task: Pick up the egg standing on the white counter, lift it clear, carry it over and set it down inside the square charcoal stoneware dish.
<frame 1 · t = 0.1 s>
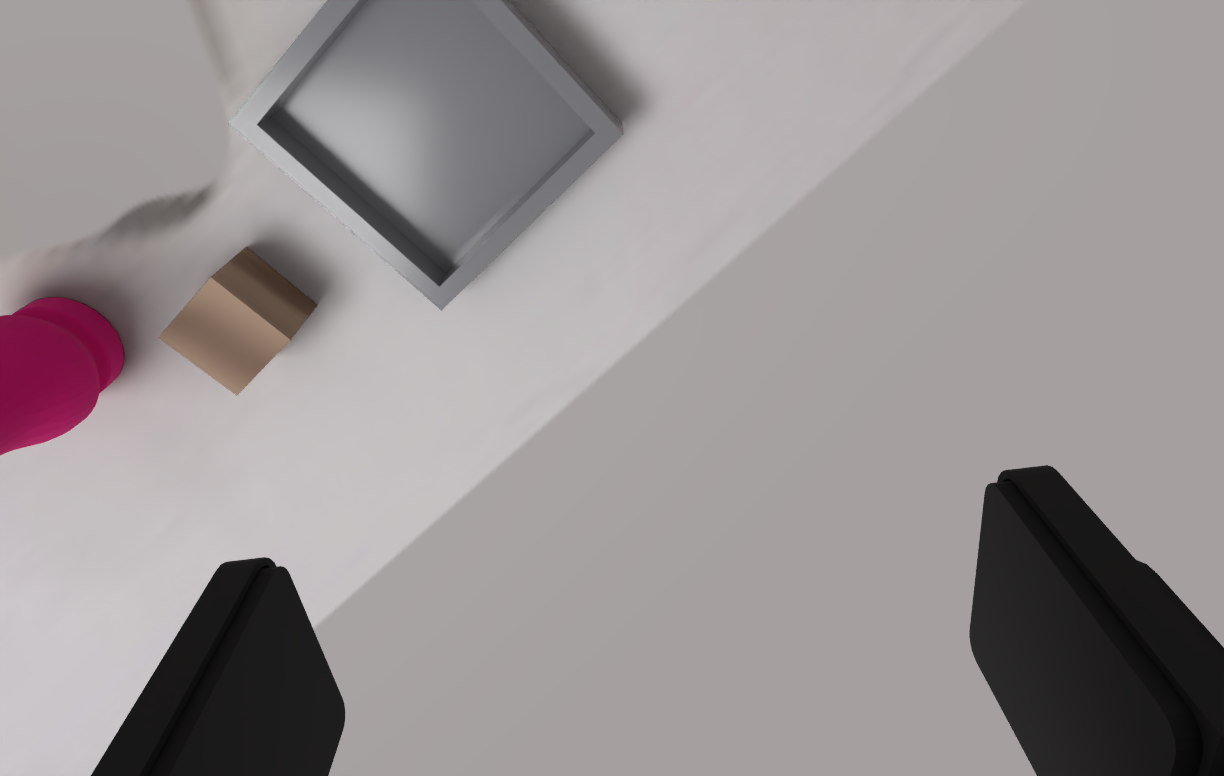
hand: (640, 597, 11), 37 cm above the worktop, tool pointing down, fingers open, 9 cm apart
pepper mill: (73, 342, 49), on the worktop
dish: (436, 118, 43), on the worktop
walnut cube: (258, 303, 48), on the worktop
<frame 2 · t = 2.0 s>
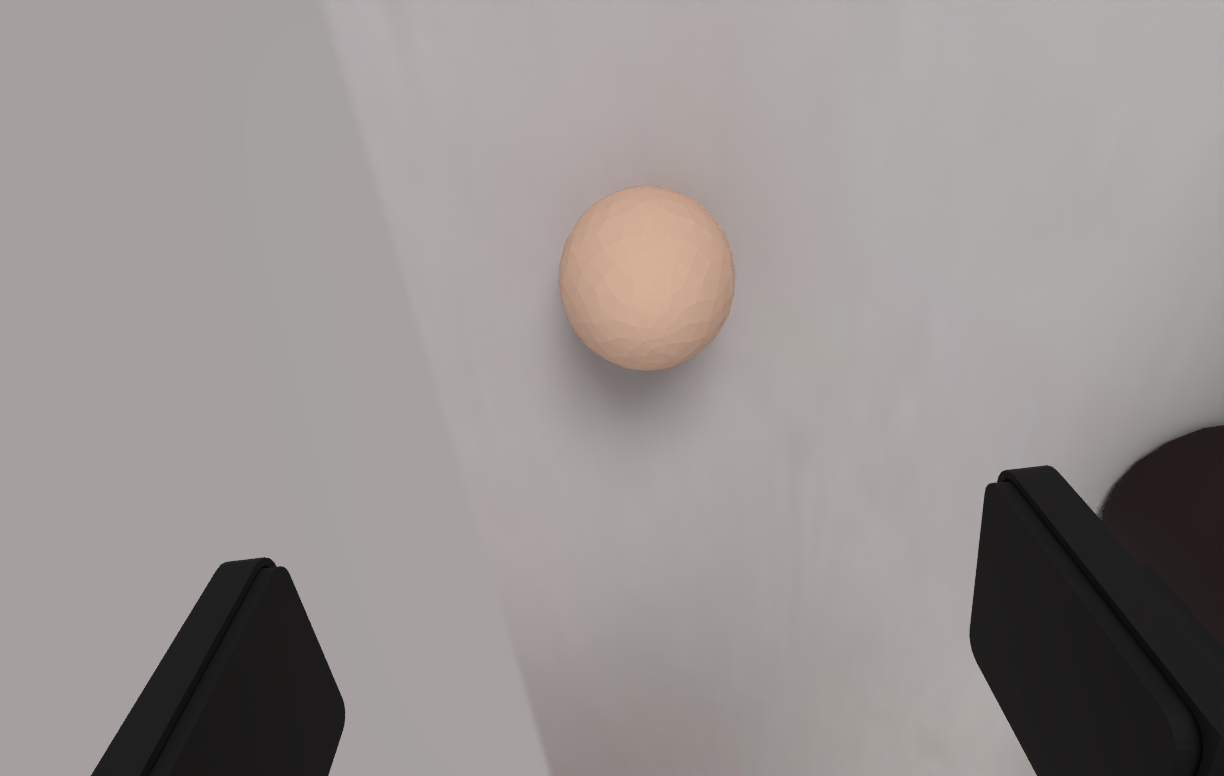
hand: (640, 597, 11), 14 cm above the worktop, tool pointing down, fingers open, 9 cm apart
egg: (642, 241, 23), on the worktop
bottle: (1195, 499, 27), on the worktop
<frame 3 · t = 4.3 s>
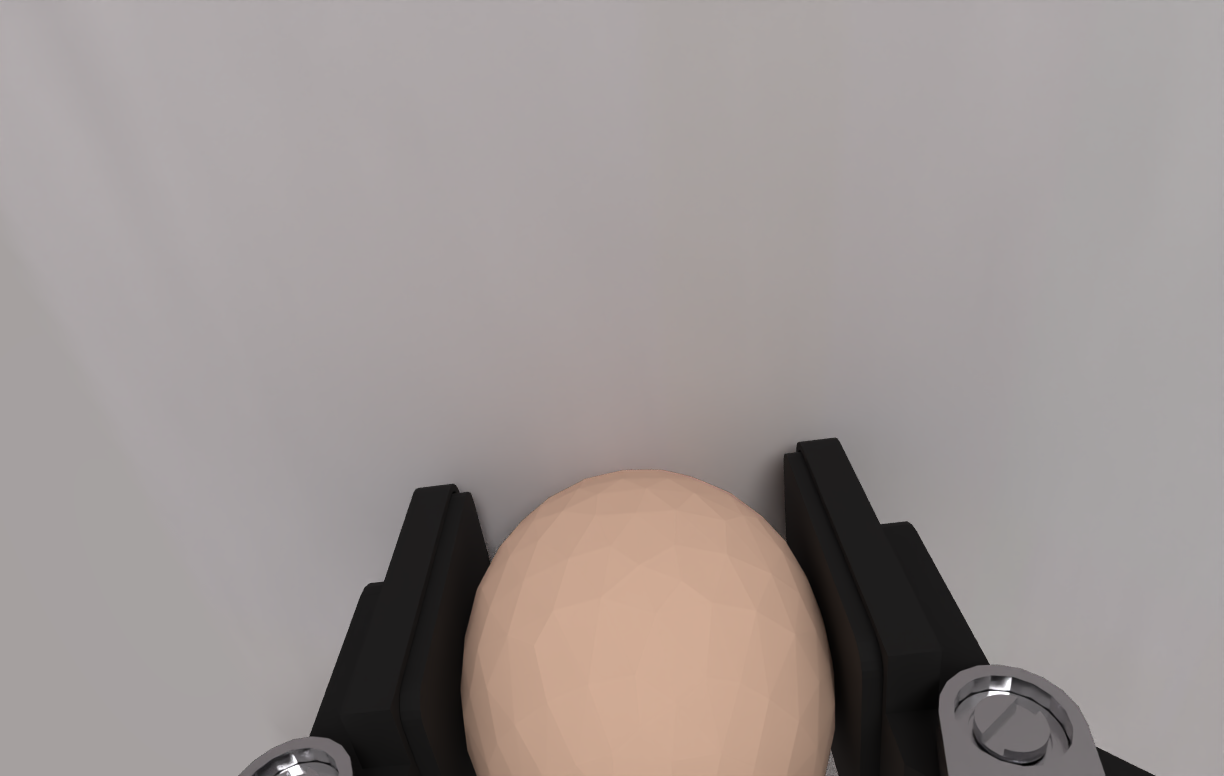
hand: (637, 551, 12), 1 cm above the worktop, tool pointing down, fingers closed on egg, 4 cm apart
egg: (635, 517, 12), on the worktop, touching gripper
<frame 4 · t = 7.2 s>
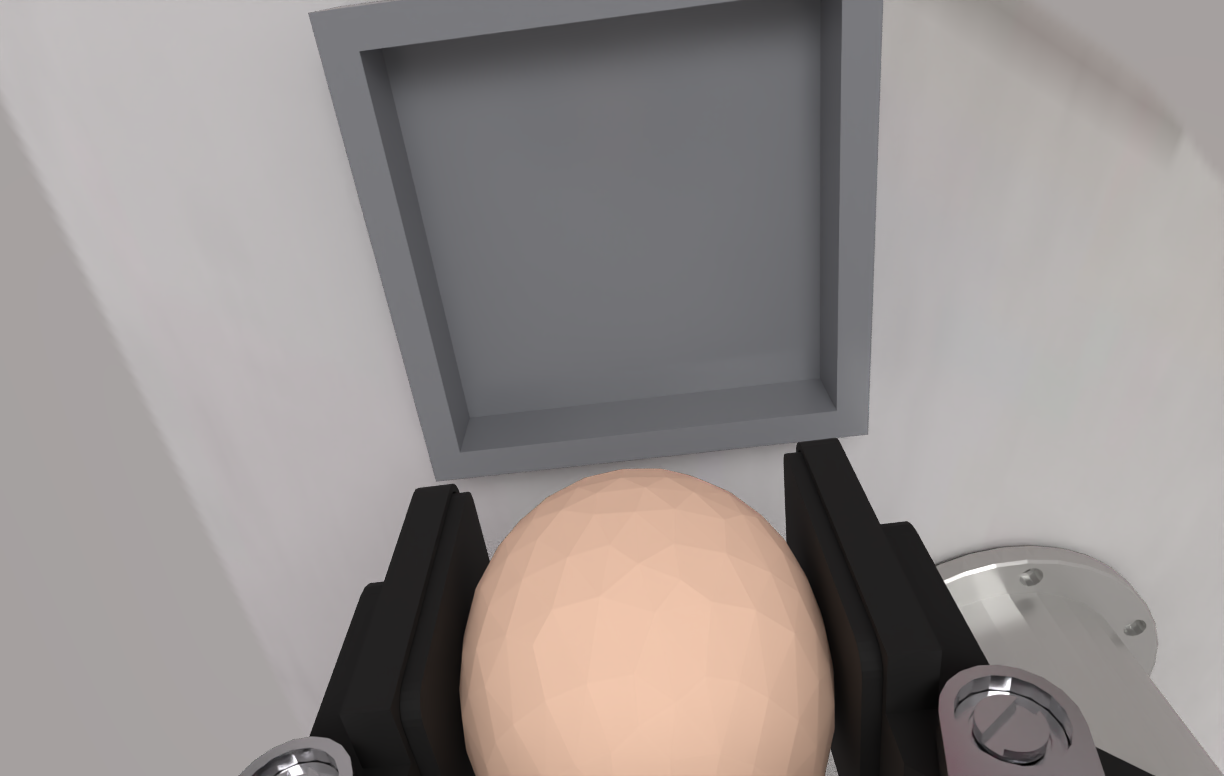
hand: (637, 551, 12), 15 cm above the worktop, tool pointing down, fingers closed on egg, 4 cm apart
dish: (622, 222, 25), on the worktop
egg: (634, 516, 12), point 15 cm above the worktop, touching gripper
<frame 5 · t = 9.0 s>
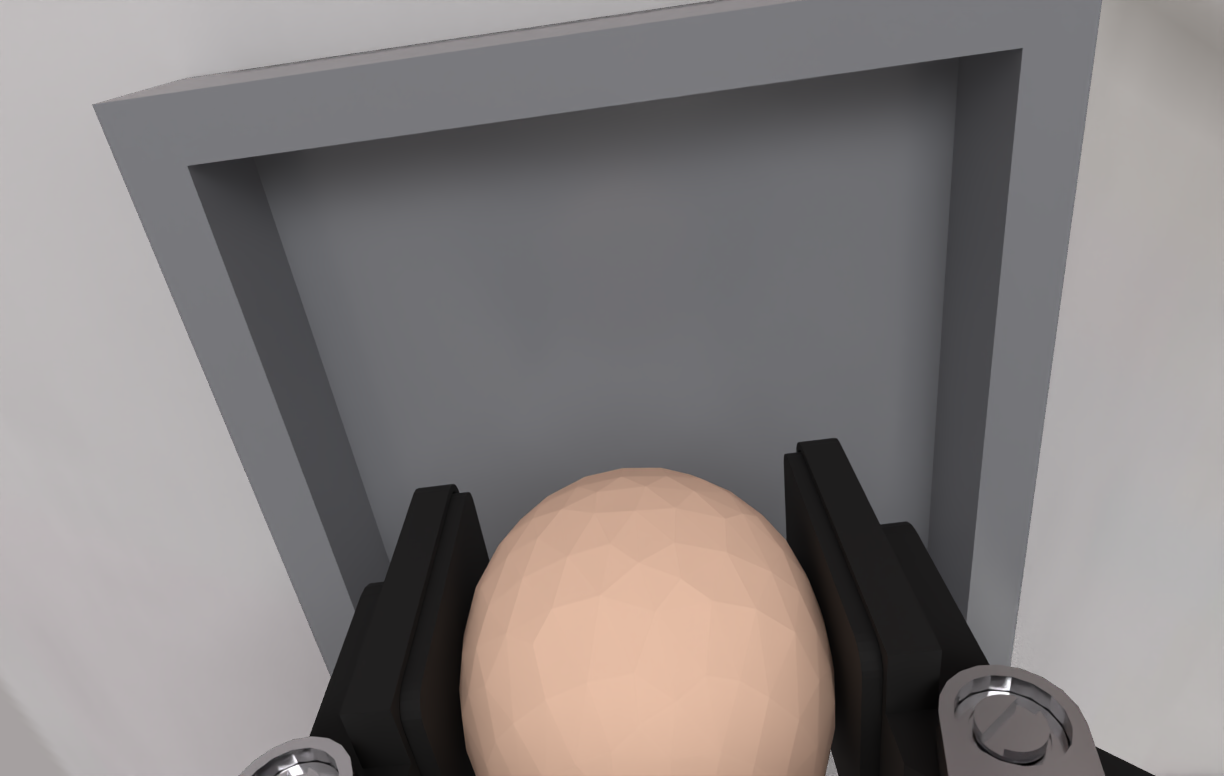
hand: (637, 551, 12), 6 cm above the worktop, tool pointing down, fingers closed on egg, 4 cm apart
dish: (636, 386, 17), on the worktop
egg: (634, 516, 12), point 5 cm above the worktop, touching gripper
when the fingers open (3 cm above the worktop, at t = 10.3 s): egg drops 2 cm, resting on dish.
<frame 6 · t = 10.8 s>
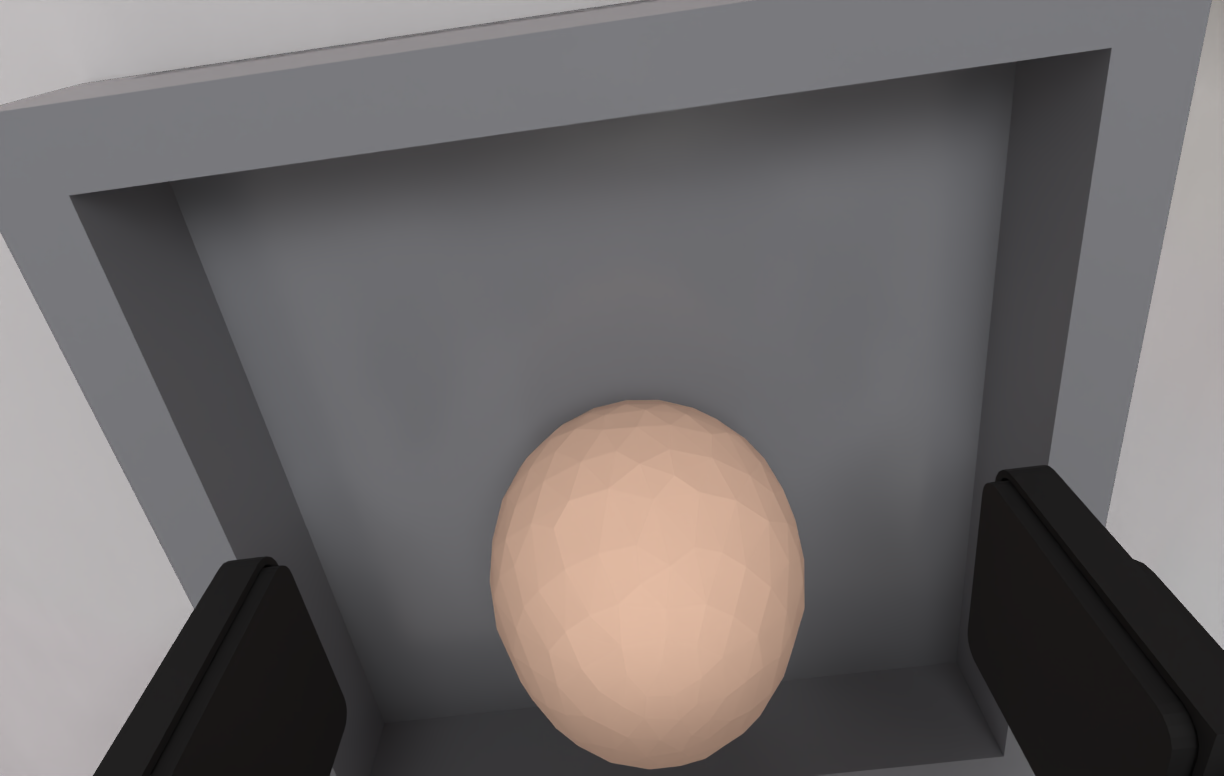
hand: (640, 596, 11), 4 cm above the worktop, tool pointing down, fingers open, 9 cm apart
dish: (629, 436, 14), on the worktop
egg: (636, 453, 14), resting on dish
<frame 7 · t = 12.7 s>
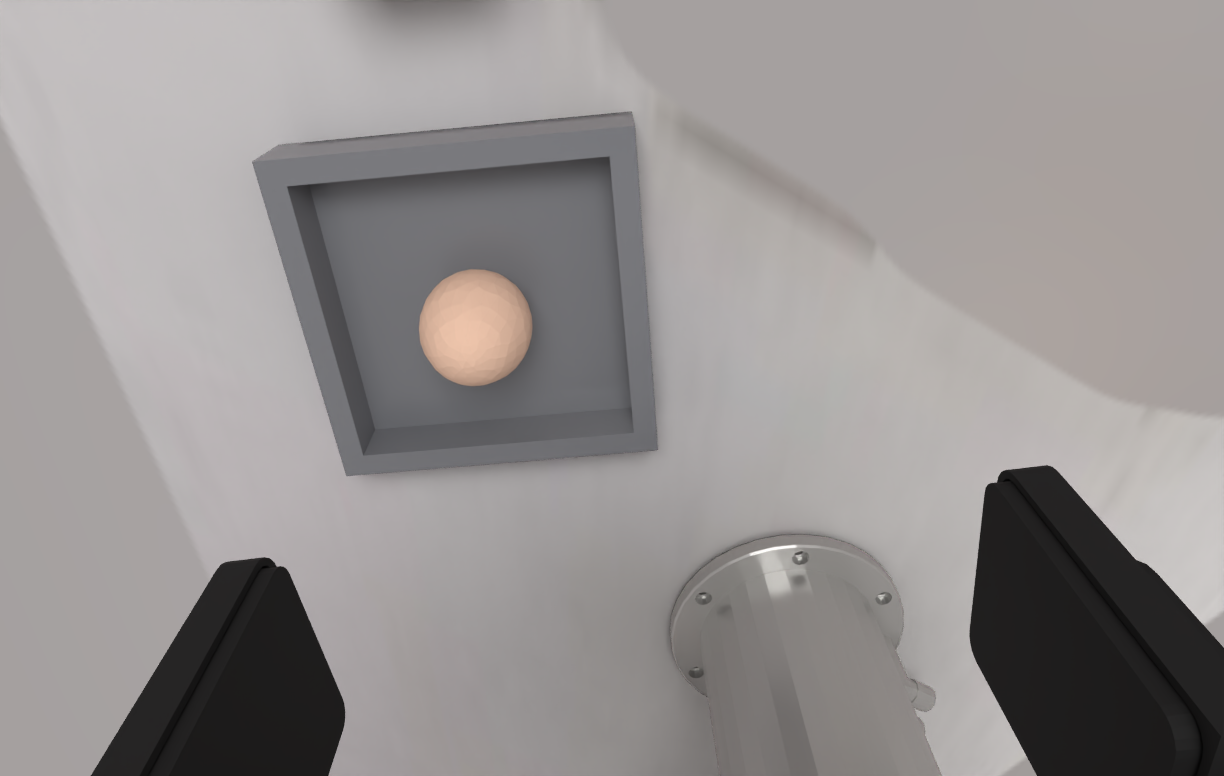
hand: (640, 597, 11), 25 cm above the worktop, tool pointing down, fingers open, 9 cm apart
dish: (483, 293, 35), on the worktop
egg: (484, 299, 35), resting on dish
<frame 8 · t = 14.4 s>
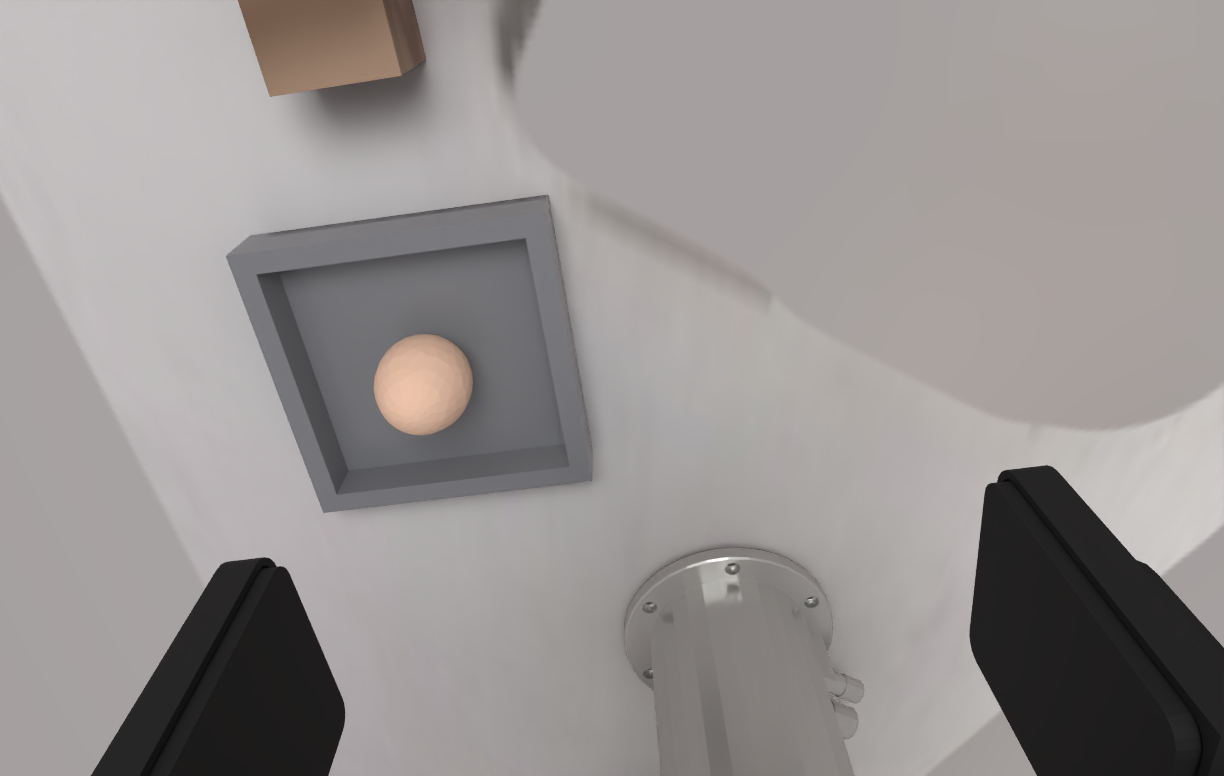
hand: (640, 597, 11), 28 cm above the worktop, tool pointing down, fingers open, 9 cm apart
dish: (433, 351, 40), on the worktop
egg: (434, 356, 40), resting on dish
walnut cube: (351, 4, 33), on the worktop
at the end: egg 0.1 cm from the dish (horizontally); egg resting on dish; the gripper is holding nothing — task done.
